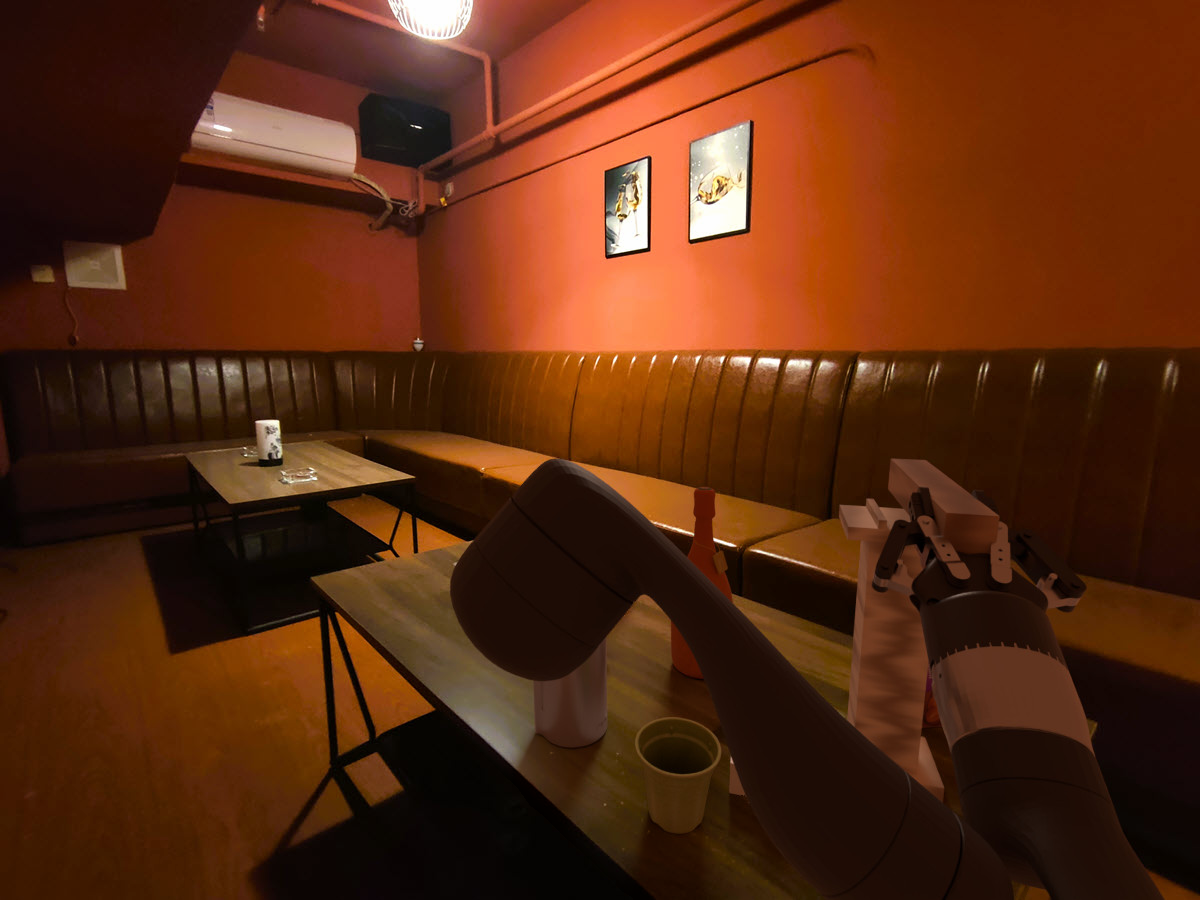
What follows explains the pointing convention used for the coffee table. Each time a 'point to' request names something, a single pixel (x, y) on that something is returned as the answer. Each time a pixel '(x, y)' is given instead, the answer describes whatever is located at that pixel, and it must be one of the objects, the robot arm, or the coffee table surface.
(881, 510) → the birch stand
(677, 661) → the wine bottle
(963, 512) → the wooden beam
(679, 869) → the coffee table surface
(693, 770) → the plant pot
